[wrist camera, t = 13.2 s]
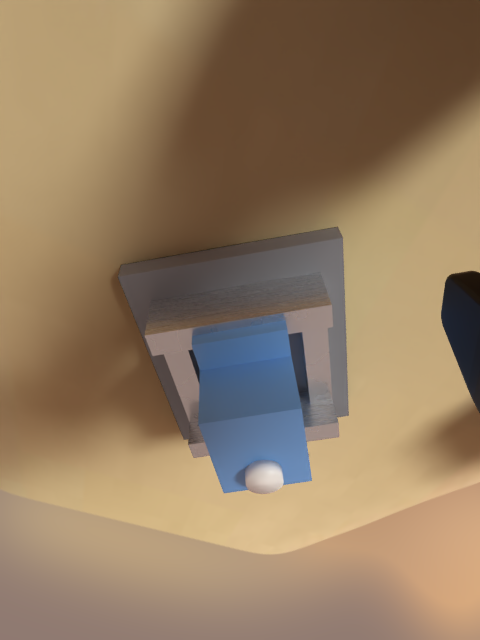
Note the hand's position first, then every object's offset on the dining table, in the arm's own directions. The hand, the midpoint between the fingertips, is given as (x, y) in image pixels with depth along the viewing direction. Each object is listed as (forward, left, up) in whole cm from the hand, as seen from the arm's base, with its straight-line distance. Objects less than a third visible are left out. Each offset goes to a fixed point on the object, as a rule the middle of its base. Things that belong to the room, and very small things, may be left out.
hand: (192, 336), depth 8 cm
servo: (0, +11, -11) cm, 15 cm away
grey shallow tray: (0, +11, -12) cm, 16 cm away
